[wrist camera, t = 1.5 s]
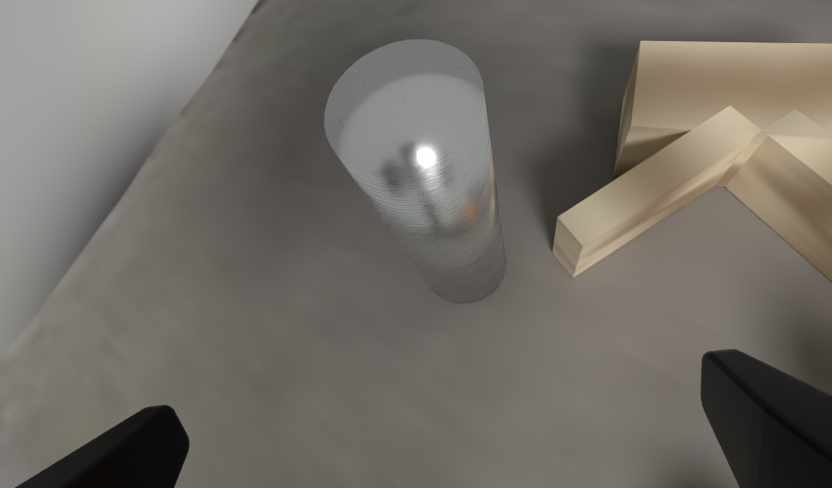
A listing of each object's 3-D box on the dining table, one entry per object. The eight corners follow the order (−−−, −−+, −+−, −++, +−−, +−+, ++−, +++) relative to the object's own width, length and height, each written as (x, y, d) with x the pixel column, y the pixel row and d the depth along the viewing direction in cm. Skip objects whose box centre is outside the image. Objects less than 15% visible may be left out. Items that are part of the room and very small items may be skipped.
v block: (922, 336, 17) (1032, 311, 13) (548, 273, 21) (553, 241, 17) (898, 115, 20) (982, 46, 16) (577, 98, 24) (586, 40, 20)
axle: (472, 320, 21) (411, 205, 10) (407, 272, 22) (293, 128, 11) (522, 253, 21) (518, 75, 10) (456, 211, 23) (392, 19, 12)
